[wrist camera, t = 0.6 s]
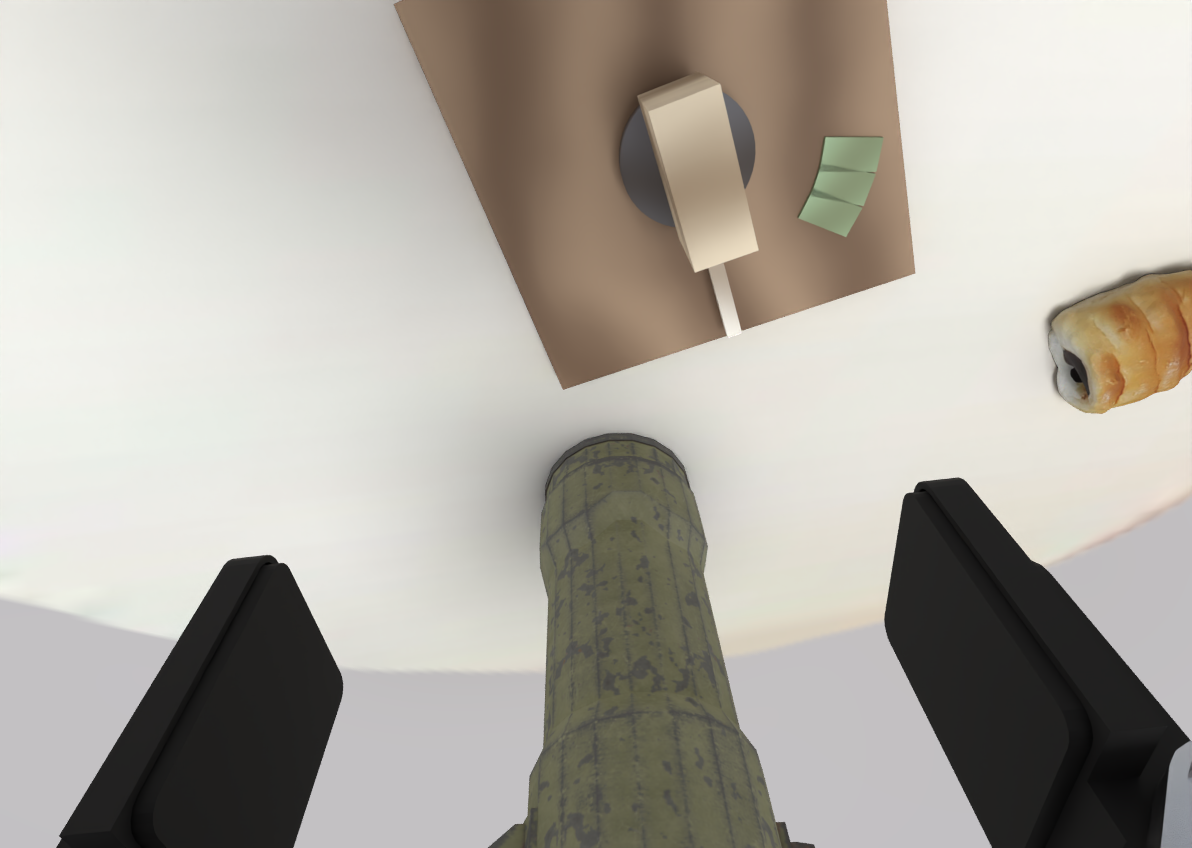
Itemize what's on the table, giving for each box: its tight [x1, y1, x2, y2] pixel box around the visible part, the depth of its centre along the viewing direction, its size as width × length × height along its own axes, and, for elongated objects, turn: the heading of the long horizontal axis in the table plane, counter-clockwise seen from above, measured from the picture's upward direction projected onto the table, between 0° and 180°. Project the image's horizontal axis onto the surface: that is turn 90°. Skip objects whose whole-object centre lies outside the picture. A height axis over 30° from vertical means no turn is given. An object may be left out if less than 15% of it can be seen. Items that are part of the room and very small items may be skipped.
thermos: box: [488, 434, 815, 848], centre depth 26 cm, size 9×12×35 cm
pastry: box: [1048, 270, 1192, 414], centre depth 35 cm, size 9×7×4 cm
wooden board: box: [394, 0, 915, 390], centre depth 30 cm, size 18×18×2 cm
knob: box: [619, 72, 759, 338], centre depth 28 cm, size 12×6×6 cm, turn 20°
